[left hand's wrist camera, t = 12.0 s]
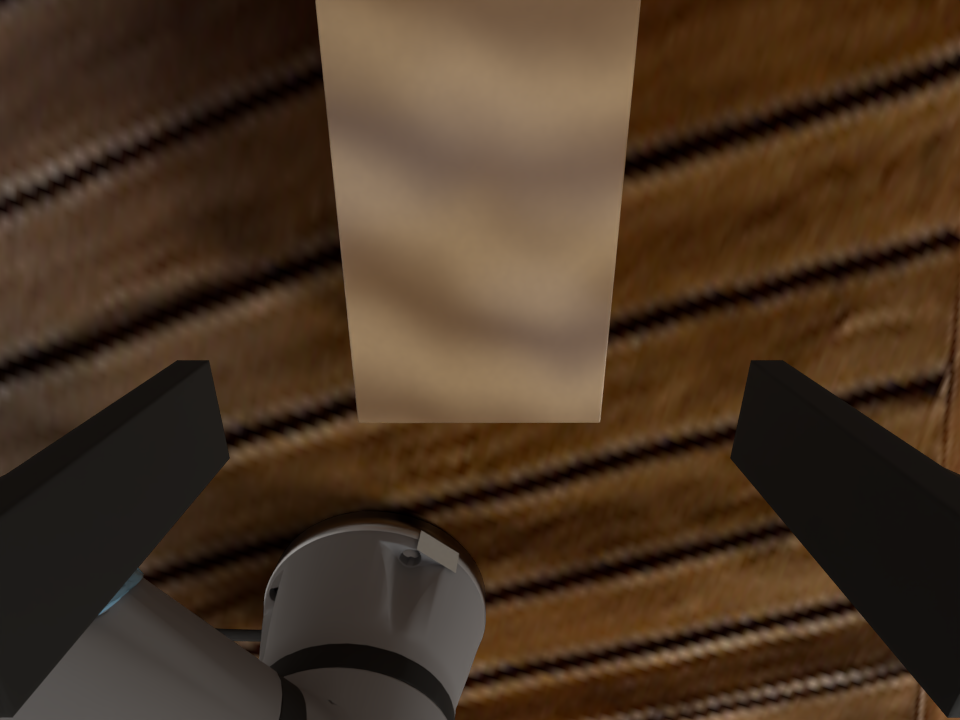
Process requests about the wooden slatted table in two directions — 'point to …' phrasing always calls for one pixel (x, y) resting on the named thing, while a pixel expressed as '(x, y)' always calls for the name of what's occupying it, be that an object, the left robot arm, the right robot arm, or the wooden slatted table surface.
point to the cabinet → (478, 201)
